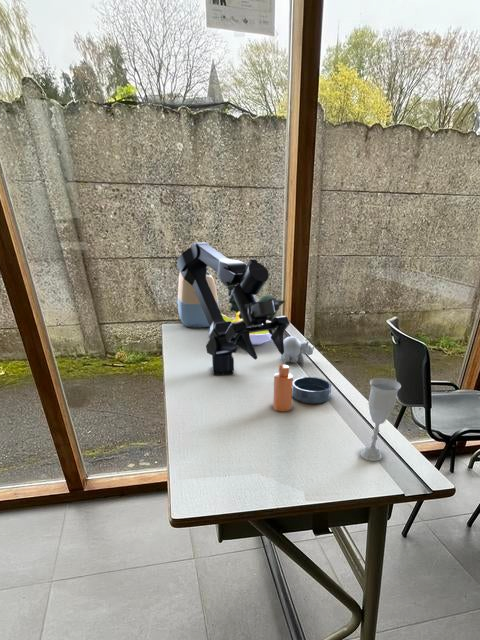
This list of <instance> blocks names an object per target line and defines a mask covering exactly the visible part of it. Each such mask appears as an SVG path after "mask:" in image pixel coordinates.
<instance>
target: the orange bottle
mask: <svg viewBox="0 0 480 640" xmlns="http://www.w3.org/2000/svg"><path fill="white" fill-rule="evenodd" d="M293 381H294V375H293V374H292V373H290V366H289V365H287V364H280V365H278V372H276V373H274V375H273V395H272V396H273V397H272V399H273V400H272V408H273V410H275V411H277V412H289V411H290V410H291V409H292V399H293V396H292V385H293Z"/></svg>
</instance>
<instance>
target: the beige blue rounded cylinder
mask: <svg viewBox="0 0 480 640" xmlns="http://www.w3.org/2000/svg"><path fill="white" fill-rule="evenodd" d="M206 280H207V282H208V284H209V286H210V289H211V291H212V293H213V296H214V298H215V300H216V303H217V305H218V307H219V308H220V305H219V304H220V303H219V299H218V291H217V286H216V285H217V284H216V282H215V278H214V277H213V276H212V274H211V273H210V272H209V271H208V270H207V274H206ZM177 291H178V292H177V313H178V315H179V318H180V321H181V323H182V324H183V326H185V327H186V328H187V327H188V328H210V325H209V323H208V321H207V318H206V316H205V314H204V312H203V309H202V307H201V305H200V302H199V300H198V298H197V295H196V293H195V291H194V288H193V286H192V285H191V284H190V283H188V282H187V281H186V280H184V278H183V276H182V275H181V273H180V272H179V274H178V289H177Z"/></svg>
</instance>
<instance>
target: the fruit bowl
mask: <svg viewBox="0 0 480 640" xmlns="http://www.w3.org/2000/svg"><path fill="white" fill-rule="evenodd" d="M221 314H222V316H223V319H224V320H225V321H226V322H228V321H231V322H239V321H243V322H244V320H243V319H240V318H239V314H240V311H239V312H238V313H236V312H235V316H232V317H231V316H230V317H229V316H226V315H225V314H223V313H221ZM266 323H271V321H269V320H266ZM249 335H250V340H251V342H252V345H253V346H254V345H255V346H256V345H263V344H265V343H267V342H269V341H272V339H271V336H272V335H271V334H270V333H269V331H268V330H267V331H260V332H254V333H249Z"/></svg>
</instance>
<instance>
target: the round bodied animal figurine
mask: <svg viewBox="0 0 480 640" xmlns="http://www.w3.org/2000/svg"><path fill="white" fill-rule="evenodd" d="M283 343H284V354H283V355H281V354H280V356H281V357H280V359H282V361H283V362H284V363H290V362H291V363H295V364H296V363H298V362H299V355H300V354H303V355H304V354H306V355H308V356H311V355H312V354H313V353H314V349H315V345H314V344H313V345H311V344H310V343H309V341H308V339H307V338H305V340H304V341H301V340H300V339H299V338H298V337H296V336H293V335H290V336H287V337H285V338H283Z"/></svg>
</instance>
